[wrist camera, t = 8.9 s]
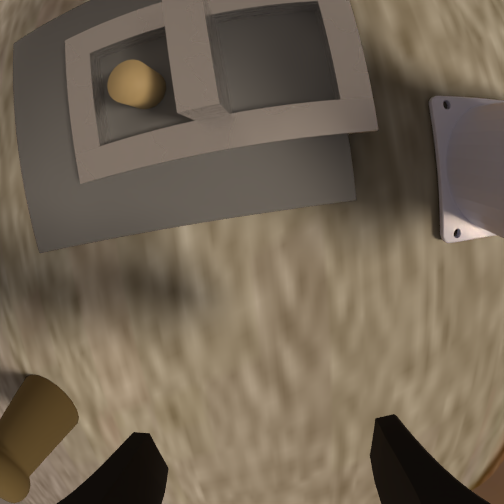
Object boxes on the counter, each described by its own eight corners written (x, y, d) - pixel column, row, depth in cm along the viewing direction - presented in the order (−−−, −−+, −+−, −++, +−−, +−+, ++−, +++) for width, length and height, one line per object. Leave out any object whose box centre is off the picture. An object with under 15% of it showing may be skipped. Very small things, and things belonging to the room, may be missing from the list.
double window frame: (337, -13, 12) (354, -53, 8) (370, 132, 14) (403, 125, 10) (76, 45, 13) (33, 26, 9) (92, 181, 15) (46, 191, 11)
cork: (13, 376, 21) (-53, 450, 11) (53, 372, 21) (-22, 465, 10) (48, 425, 23) (-3, 503, 12) (91, 427, 22) (38, 522, 12)
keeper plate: (302, -42, 12) (307, -74, 9) (351, 197, 16) (370, 208, 12) (22, 46, 14) (-9, 36, 10) (48, 248, 17) (16, 265, 14)
